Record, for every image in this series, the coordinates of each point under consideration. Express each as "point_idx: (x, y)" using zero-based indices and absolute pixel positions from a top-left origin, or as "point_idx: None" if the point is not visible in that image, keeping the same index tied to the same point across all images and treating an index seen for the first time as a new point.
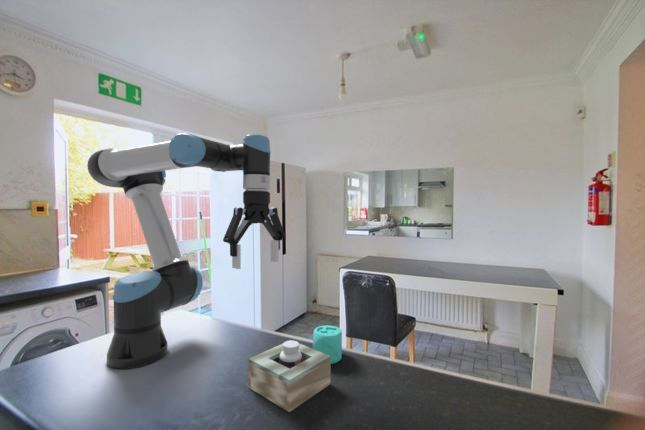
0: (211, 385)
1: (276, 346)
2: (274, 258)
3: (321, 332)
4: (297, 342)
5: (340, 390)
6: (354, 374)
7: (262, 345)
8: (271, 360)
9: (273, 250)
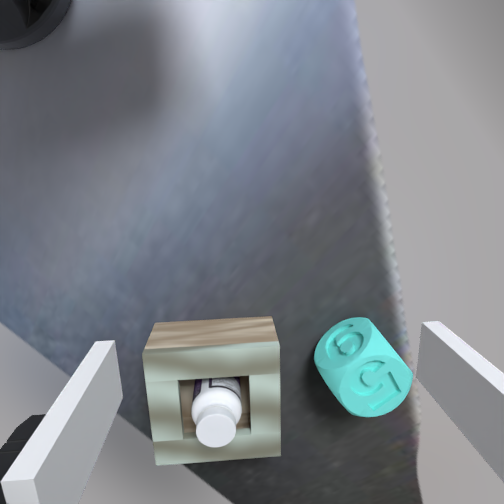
0: (100, 264)
1: (229, 349)
2: (430, 372)
3: (360, 375)
4: (232, 436)
5: None
6: (329, 421)
7: (294, 187)
8: (176, 392)
9: (468, 401)
